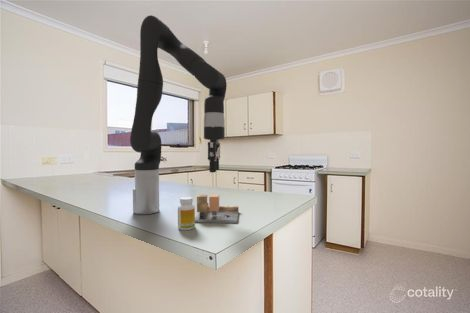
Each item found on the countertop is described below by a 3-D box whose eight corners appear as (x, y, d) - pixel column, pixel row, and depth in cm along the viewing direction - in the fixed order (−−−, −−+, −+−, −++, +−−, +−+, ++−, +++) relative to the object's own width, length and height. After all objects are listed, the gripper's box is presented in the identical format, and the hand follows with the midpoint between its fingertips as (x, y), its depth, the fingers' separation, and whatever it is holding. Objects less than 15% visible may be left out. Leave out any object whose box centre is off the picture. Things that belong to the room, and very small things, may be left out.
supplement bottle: (198, 227, 77) (198, 197, 76) (184, 231, 73) (184, 200, 72) (188, 223, 80) (188, 195, 80) (174, 227, 76) (174, 198, 76)
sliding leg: (209, 216, 84) (209, 196, 84) (210, 213, 88) (210, 194, 87) (218, 216, 84) (218, 196, 84) (219, 213, 88) (219, 194, 87)
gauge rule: (195, 219, 85) (195, 196, 84) (201, 211, 96) (201, 190, 95) (237, 220, 84) (237, 197, 83) (238, 212, 95) (238, 191, 94)
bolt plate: (194, 222, 82) (194, 219, 82) (200, 213, 93) (200, 210, 93) (237, 223, 81) (237, 220, 81) (238, 214, 92) (238, 211, 92)
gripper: (207, 128, 92) (207, 169, 93) (200, 124, 78) (200, 173, 78) (226, 127, 92) (226, 169, 92) (222, 124, 77) (222, 173, 78)
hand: (214, 171), depth 85 cm, fingers open, 8 cm apart
